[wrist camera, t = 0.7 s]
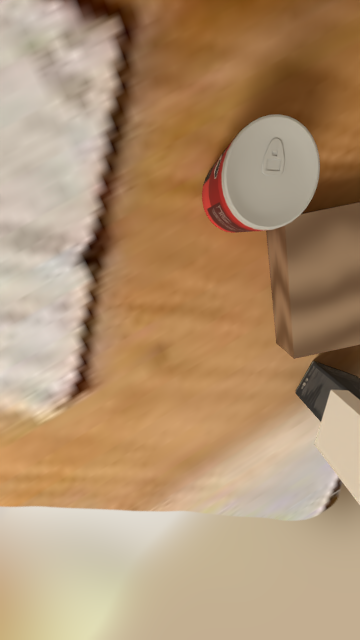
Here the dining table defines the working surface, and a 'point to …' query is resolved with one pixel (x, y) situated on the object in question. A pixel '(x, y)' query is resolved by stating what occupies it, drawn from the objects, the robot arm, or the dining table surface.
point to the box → (324, 386)
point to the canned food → (263, 176)
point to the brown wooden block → (316, 280)
